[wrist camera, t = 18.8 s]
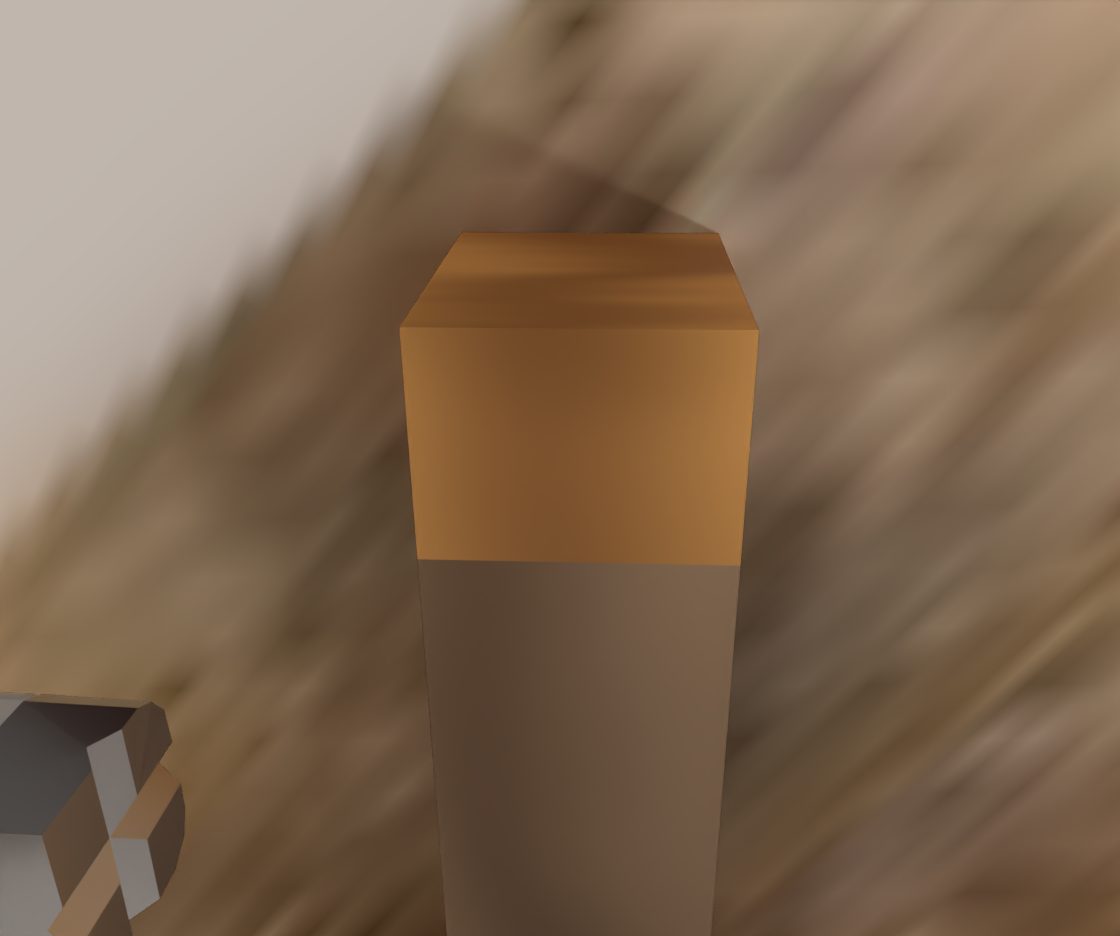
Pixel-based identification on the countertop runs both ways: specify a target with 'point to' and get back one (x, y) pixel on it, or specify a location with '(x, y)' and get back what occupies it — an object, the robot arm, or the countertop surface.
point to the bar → (579, 571)
